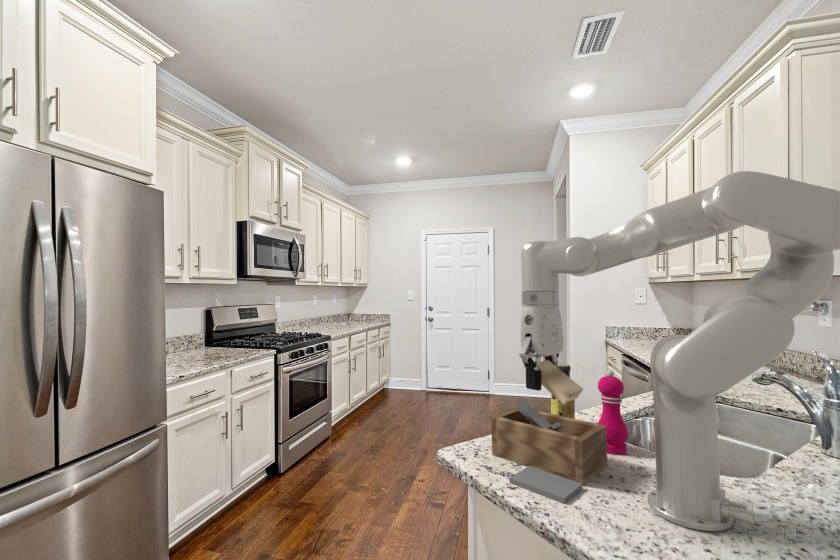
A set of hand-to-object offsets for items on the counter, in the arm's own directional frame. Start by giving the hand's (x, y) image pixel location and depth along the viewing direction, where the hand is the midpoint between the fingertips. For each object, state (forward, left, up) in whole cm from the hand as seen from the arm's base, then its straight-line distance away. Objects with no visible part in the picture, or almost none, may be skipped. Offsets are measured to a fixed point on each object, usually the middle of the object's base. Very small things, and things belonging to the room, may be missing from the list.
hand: (541, 385), depth 81 cm
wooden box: (+6, -12, -20) cm, 24 cm away
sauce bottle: (+10, -29, -21) cm, 37 cm away
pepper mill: (-3, -29, -21) cm, 36 cm away
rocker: (+6, -12, -14) cm, 20 cm away
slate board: (0, 0, -20) cm, 20 cm away
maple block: (-2, 0, 0) cm, 2 cm away
